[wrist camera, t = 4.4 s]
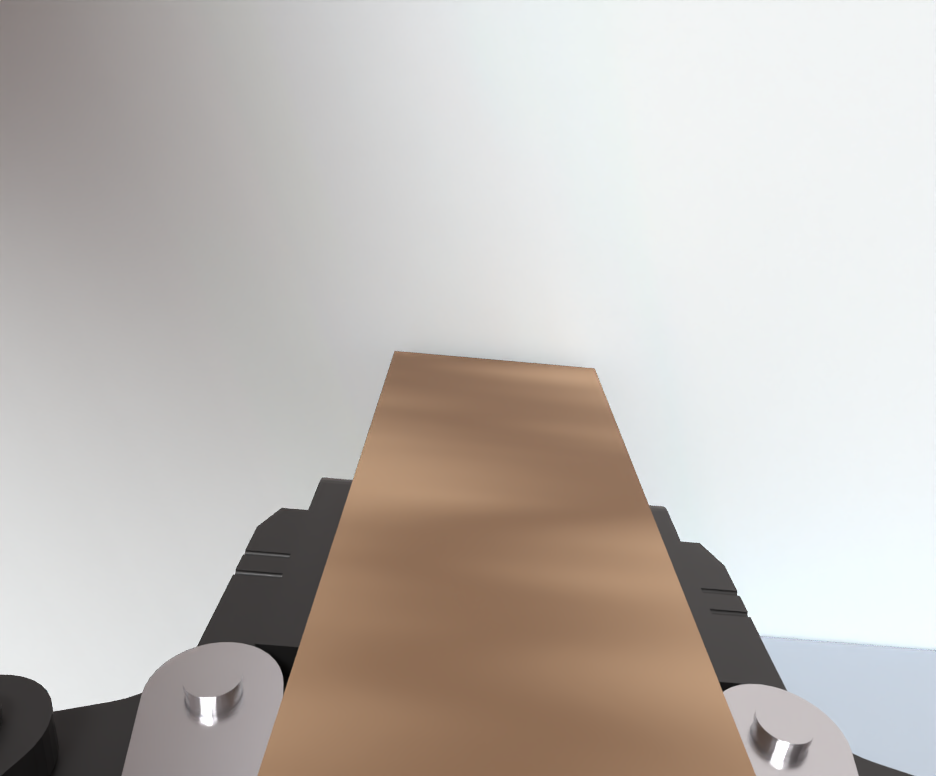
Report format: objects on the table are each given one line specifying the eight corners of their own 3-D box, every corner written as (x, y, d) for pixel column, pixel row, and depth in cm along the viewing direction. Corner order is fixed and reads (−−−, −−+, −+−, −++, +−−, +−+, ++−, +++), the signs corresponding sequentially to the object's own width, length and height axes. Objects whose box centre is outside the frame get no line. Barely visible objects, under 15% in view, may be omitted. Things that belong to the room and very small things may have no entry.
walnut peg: (594, 368, 13) (845, 1001, 4) (567, 538, 15) (710, 1297, 6) (394, 351, 13) (201, 954, 4) (385, 523, 15) (223, 1267, 5)
